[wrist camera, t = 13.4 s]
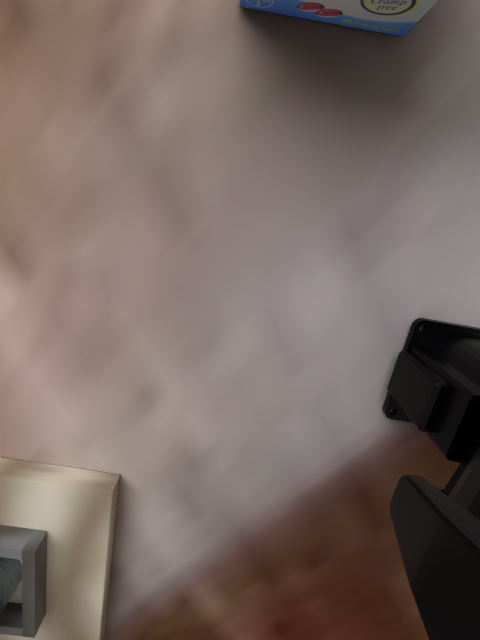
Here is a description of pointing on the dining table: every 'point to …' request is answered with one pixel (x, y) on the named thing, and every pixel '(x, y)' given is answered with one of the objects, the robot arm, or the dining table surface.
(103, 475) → the collar base
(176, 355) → the dining table surface
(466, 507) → the robot arm
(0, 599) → the shiny steel cylinder
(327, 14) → the medicine box
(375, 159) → the dining table surface
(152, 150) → the dining table surface
